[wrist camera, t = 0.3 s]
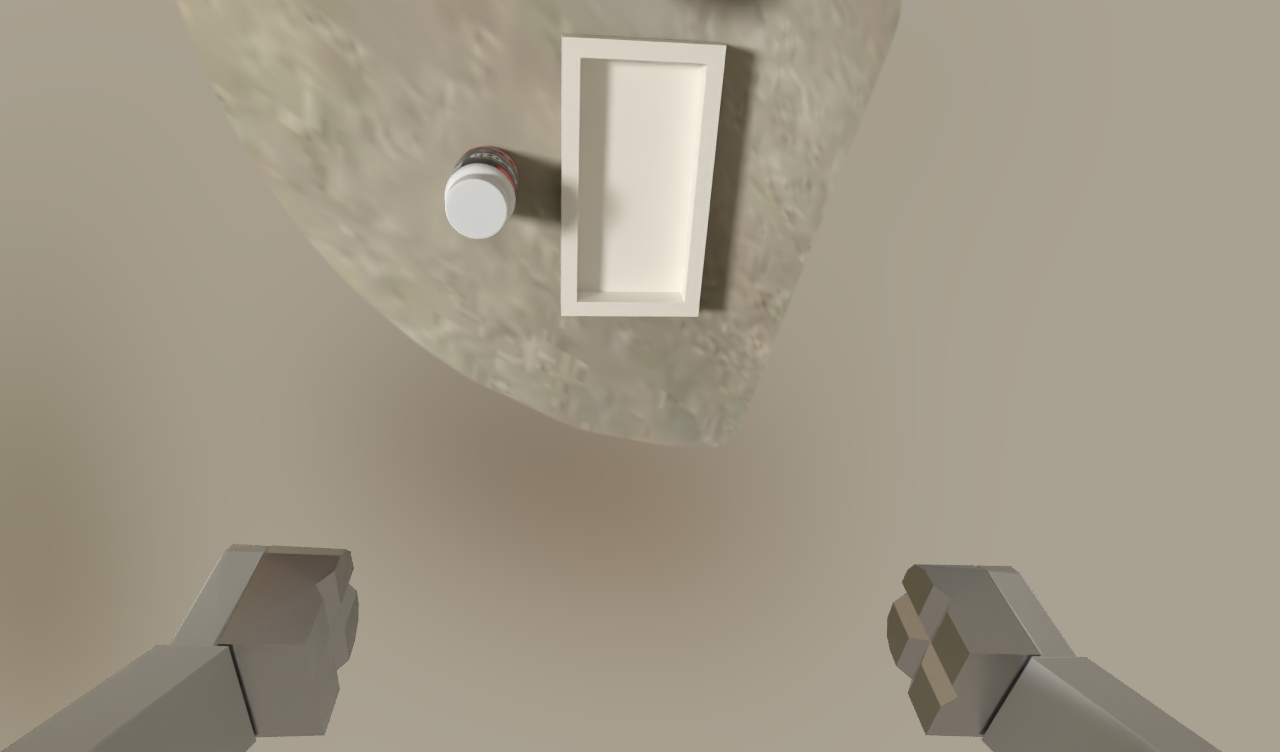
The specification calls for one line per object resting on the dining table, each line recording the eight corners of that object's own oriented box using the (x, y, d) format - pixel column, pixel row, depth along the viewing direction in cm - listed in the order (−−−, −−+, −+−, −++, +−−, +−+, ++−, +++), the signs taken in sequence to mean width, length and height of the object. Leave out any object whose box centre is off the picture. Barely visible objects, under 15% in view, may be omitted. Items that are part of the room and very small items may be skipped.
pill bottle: (530, 165, 53) (527, 195, 46) (501, 219, 55) (495, 257, 48) (471, 132, 52) (458, 158, 45) (443, 189, 54) (427, 223, 46)
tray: (561, 33, 49) (562, 36, 47) (718, 41, 51) (726, 45, 48) (560, 301, 59) (561, 315, 57) (692, 302, 60) (698, 316, 58)
